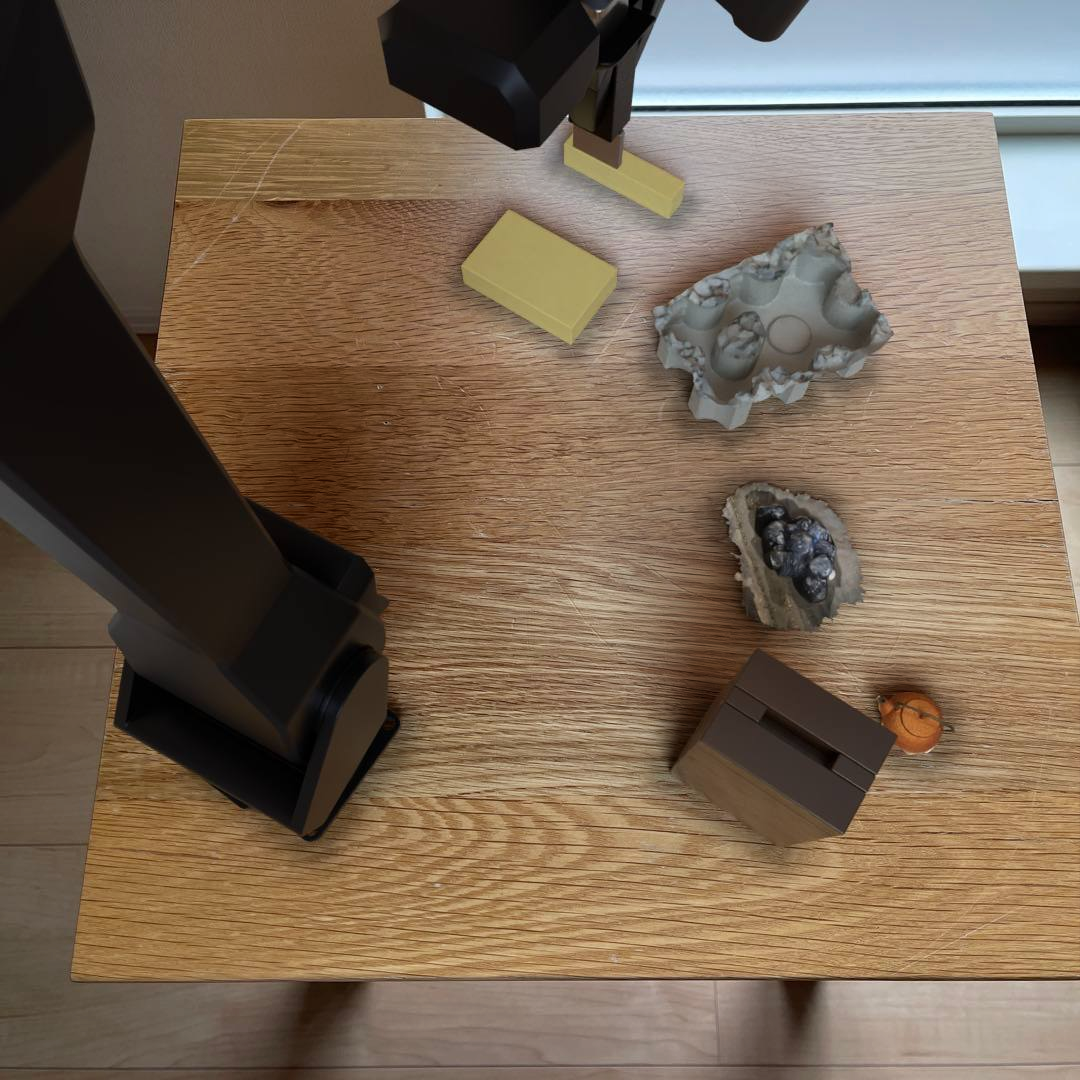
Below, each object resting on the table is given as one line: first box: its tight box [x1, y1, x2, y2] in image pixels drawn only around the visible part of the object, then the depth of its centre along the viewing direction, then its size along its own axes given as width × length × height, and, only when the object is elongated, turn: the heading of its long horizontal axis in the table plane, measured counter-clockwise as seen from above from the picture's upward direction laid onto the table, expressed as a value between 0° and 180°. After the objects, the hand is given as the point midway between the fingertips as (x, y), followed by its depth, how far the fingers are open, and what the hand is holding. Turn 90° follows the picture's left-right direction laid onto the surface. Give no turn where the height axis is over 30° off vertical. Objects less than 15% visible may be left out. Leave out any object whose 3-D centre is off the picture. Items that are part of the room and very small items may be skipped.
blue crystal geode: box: [721, 481, 867, 634], centre depth 44 cm, size 7×8×2 cm
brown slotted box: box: [668, 647, 898, 848], centre depth 37 cm, size 4×6×10 cm
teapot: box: [876, 691, 955, 756], centre depth 41 cm, size 3×3×3 cm
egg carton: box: [648, 221, 895, 431], centre depth 47 cm, size 11×8×4 cm
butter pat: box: [563, 132, 686, 220], centre depth 52 cm, size 2×7×2 cm, turn 56°
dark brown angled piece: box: [567, 0, 643, 169], centre depth 39 cm, size 2×2×8 cm
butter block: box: [460, 208, 619, 346], centre depth 50 cm, size 4×7×2 cm, turn 56°
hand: (598, 110), depth 40 cm, fingers closed on dark brown angled piece, 2 cm apart
